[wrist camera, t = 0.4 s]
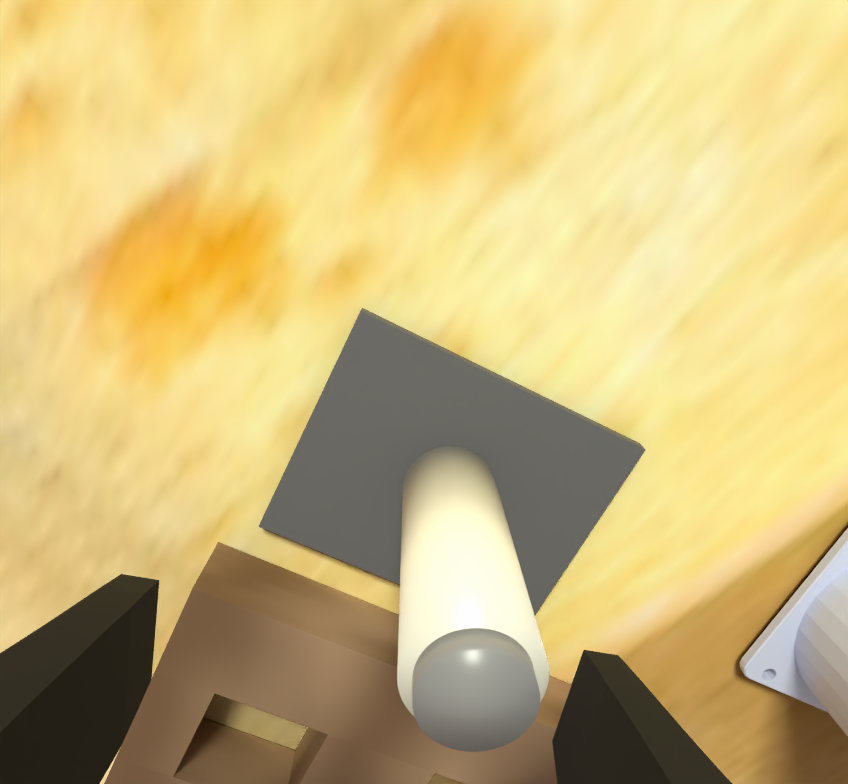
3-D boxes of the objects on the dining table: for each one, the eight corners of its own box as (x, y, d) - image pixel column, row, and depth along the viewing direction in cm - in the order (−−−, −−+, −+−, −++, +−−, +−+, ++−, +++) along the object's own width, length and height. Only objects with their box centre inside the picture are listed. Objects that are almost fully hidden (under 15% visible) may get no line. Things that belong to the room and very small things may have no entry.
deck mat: (639, 443, 19) (645, 449, 19) (519, 625, 22) (521, 635, 21) (362, 308, 18) (360, 311, 17) (262, 519, 20) (258, 526, 20)
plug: (511, 469, 19) (586, 672, 11) (468, 542, 20) (507, 782, 12) (428, 431, 19) (442, 613, 10) (387, 507, 19) (369, 731, 11)
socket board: (613, 701, 23) (639, 768, 20) (477, 881, 26) (484, 960, 23) (218, 542, 20) (189, 594, 18) (118, 761, 23) (80, 834, 21)
